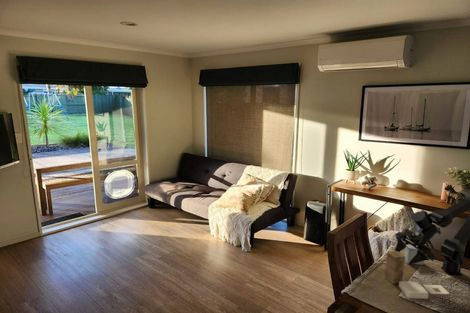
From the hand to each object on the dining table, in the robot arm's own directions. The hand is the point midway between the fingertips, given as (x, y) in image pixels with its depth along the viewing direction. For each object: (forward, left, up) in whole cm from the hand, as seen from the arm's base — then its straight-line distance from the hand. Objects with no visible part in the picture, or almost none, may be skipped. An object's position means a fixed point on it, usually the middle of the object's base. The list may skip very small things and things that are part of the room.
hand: (401, 258), depth 138 cm
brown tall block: (+3, +1, -10) cm, 11 cm away
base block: (-1, +10, -11) cm, 15 cm away
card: (-12, +8, -10) cm, 17 cm away
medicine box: (-15, -15, -11) cm, 24 cm away
